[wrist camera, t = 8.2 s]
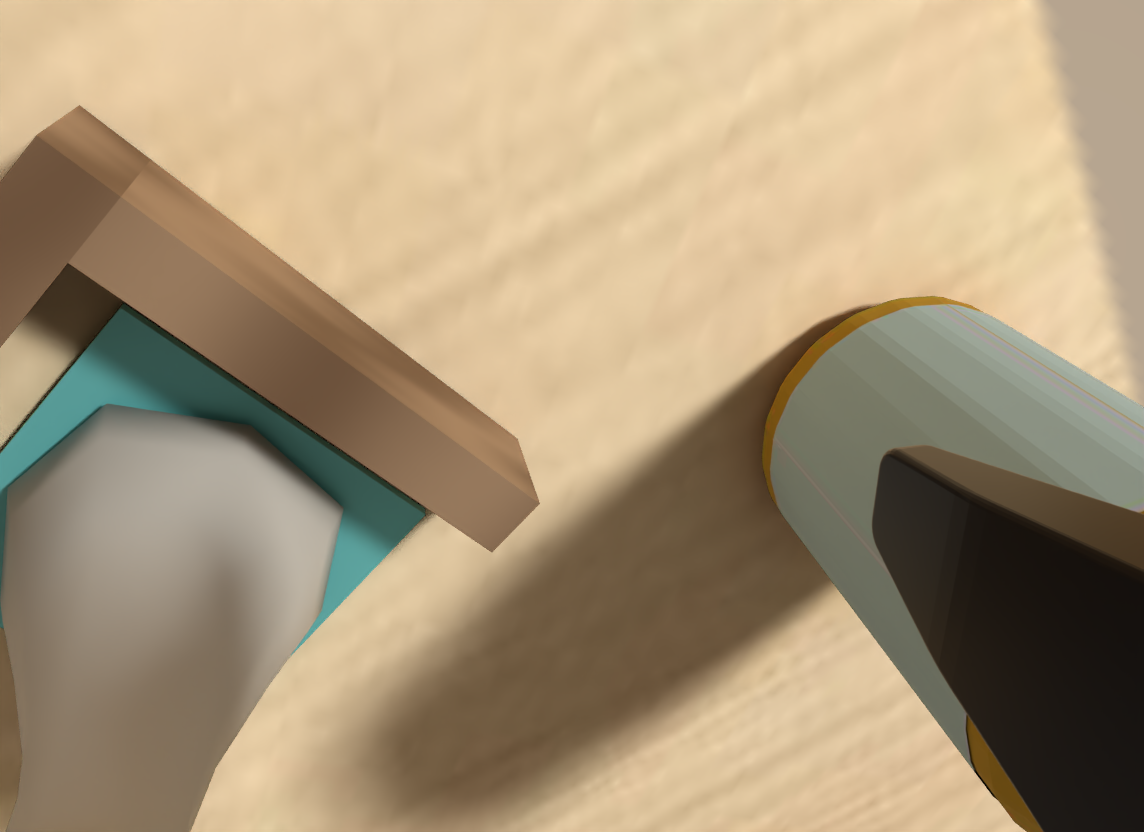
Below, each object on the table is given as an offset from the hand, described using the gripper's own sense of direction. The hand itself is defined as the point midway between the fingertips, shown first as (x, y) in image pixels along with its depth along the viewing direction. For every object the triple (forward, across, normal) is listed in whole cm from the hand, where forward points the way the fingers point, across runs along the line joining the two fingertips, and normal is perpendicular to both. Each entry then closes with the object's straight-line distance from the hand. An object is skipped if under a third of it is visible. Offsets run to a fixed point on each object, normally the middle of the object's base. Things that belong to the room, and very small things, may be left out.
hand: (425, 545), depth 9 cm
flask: (+13, +5, +8) cm, 16 cm away
